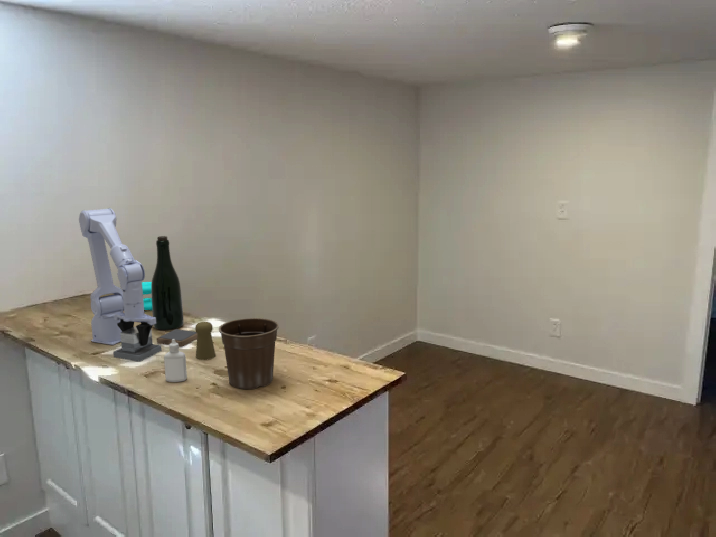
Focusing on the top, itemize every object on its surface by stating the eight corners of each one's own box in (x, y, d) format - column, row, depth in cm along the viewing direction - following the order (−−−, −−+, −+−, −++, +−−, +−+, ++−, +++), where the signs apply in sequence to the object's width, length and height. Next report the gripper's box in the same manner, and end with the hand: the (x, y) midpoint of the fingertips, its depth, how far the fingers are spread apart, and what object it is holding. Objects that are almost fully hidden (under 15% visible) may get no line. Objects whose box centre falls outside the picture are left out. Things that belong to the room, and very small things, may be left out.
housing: (122, 351, 175) (120, 332, 174) (140, 342, 183) (138, 325, 181) (134, 353, 174) (133, 334, 172) (152, 344, 181) (151, 326, 180)
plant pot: (230, 369, 167) (227, 316, 164) (284, 369, 167) (283, 317, 163) (214, 392, 151) (211, 335, 148) (274, 393, 151) (273, 336, 147)
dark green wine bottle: (147, 327, 204) (140, 236, 197) (171, 320, 213) (165, 233, 205) (165, 332, 198) (158, 239, 191) (190, 325, 207) (184, 235, 200)
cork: (210, 360, 173) (208, 326, 171) (192, 359, 175) (189, 325, 172) (218, 353, 179) (217, 320, 177) (201, 352, 180) (199, 319, 178)
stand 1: (113, 357, 176) (113, 351, 175) (136, 346, 185) (136, 340, 184) (139, 361, 172) (139, 355, 172) (161, 350, 182) (161, 344, 181)
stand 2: (157, 343, 188) (156, 337, 188) (176, 333, 197) (176, 328, 197) (181, 347, 185) (181, 341, 184) (200, 337, 194) (200, 331, 193)
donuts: (144, 280, 232) (164, 282, 228) (146, 303, 234) (165, 306, 230) (126, 285, 223) (146, 288, 219) (128, 310, 225) (149, 312, 221)
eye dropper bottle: (178, 384, 156) (175, 343, 154) (163, 380, 159) (160, 340, 156) (189, 378, 160) (186, 338, 158) (174, 375, 163) (171, 335, 160)
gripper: (105, 303, 174) (109, 344, 177) (143, 308, 169) (147, 350, 172) (122, 297, 180) (125, 337, 183) (159, 301, 175) (162, 343, 178)
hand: (137, 343), depth 178 cm, fingers closed on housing, 5 cm apart
